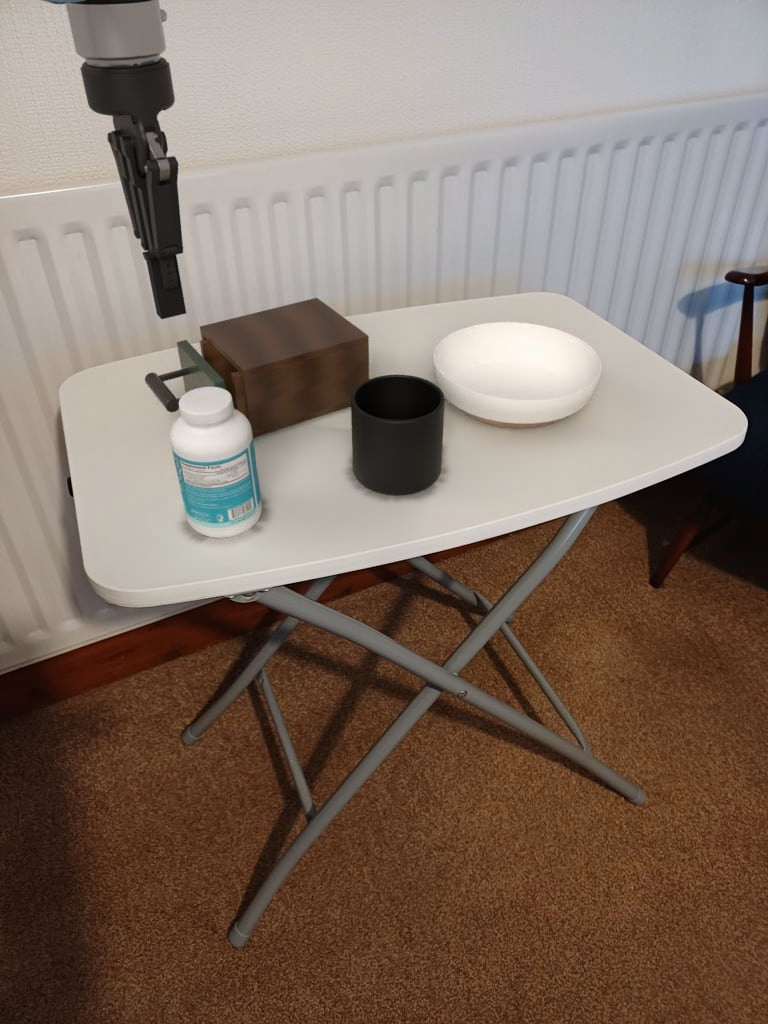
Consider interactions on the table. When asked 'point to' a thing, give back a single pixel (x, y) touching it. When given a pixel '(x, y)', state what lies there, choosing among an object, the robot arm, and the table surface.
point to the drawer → (199, 375)
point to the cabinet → (293, 361)
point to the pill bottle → (215, 464)
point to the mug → (397, 433)
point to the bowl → (516, 373)
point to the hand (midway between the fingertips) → (171, 313)
